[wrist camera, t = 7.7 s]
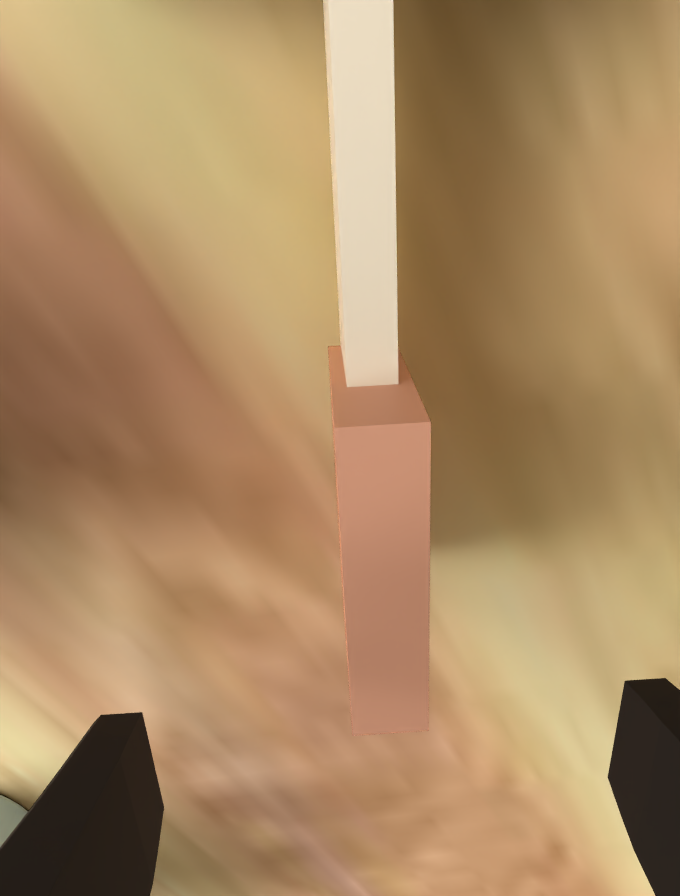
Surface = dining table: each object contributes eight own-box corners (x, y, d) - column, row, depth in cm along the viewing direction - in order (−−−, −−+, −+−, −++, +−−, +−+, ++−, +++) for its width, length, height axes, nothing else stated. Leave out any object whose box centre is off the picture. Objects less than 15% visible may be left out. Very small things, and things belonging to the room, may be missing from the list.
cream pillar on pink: (398, 582, 18) (428, 730, 14) (342, 586, 18) (352, 735, 14) (381, -474, 10) (443, -1022, 5) (279, -470, 10) (250, -1016, 5)
